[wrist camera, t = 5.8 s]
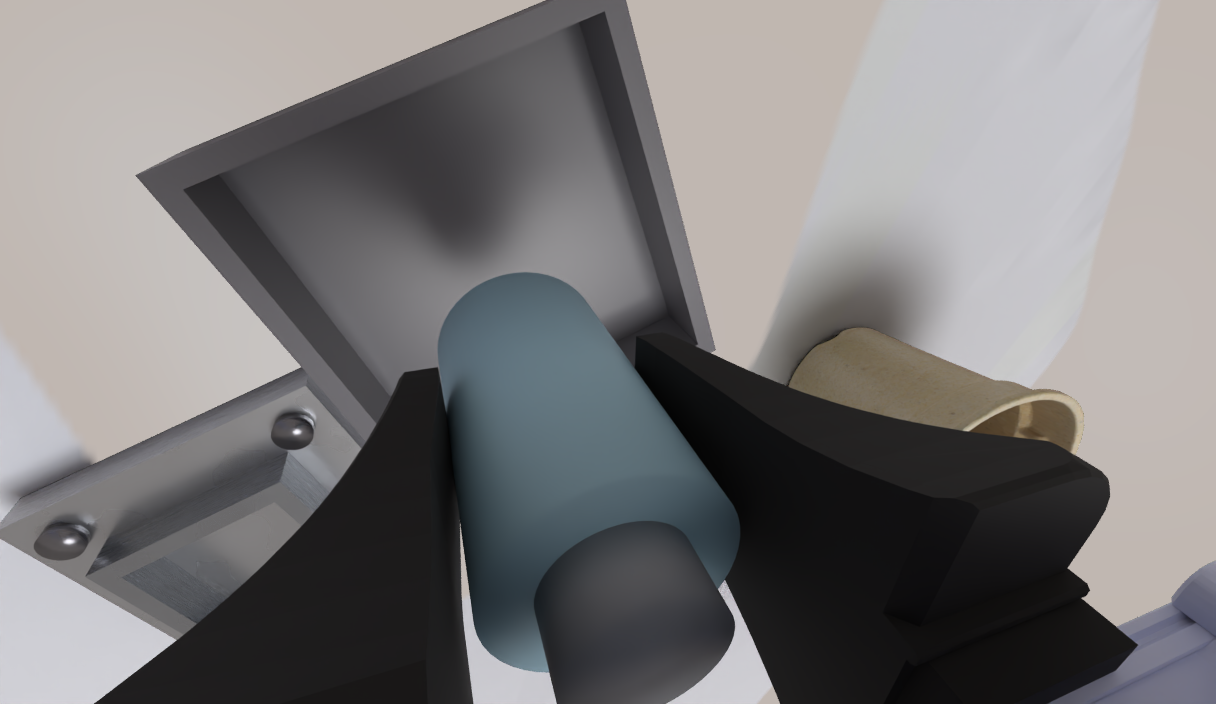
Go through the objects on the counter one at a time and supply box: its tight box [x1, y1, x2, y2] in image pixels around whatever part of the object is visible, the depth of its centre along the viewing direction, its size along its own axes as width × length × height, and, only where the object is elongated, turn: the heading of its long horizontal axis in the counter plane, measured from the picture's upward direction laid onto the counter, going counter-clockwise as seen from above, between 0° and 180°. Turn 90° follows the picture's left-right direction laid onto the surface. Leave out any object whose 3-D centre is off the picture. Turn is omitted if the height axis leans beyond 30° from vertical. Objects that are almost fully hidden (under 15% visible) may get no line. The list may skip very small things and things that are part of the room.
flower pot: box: [788, 328, 1084, 455], centre depth 24 cm, size 9×9×9 cm
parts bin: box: [136, 0, 716, 441], centre depth 17 cm, size 12×12×3 cm
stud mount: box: [0, 367, 366, 640], centre depth 19 cm, size 10×10×3 cm
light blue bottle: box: [438, 272, 740, 704], centre depth 10 cm, size 4×4×8 cm
